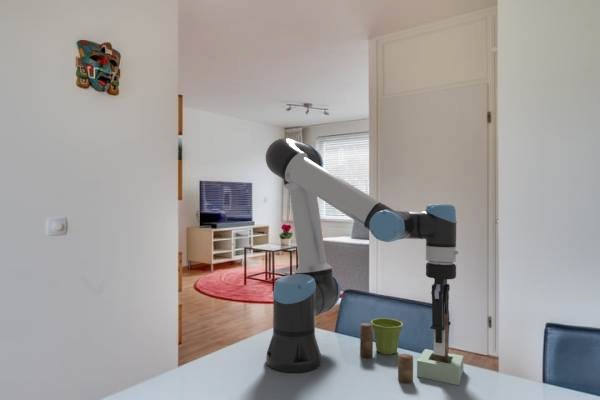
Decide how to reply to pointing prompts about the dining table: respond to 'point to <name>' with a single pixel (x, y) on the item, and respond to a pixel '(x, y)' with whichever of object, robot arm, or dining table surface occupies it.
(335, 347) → the dining table surface
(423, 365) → the hole block
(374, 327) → the plant pot
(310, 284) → the robot arm
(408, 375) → the peg short
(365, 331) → the peg medium
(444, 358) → the peg long
